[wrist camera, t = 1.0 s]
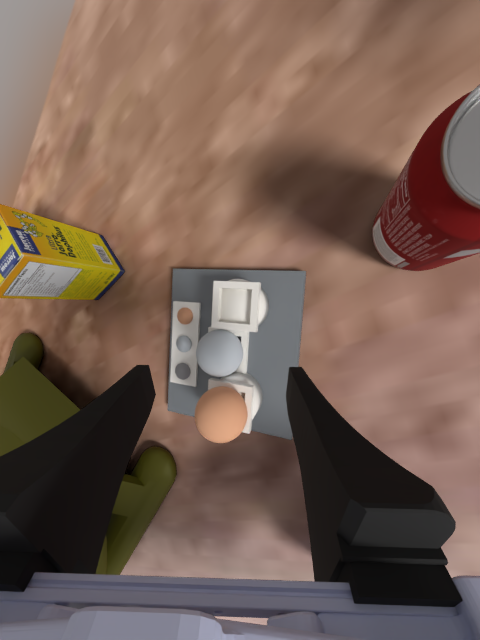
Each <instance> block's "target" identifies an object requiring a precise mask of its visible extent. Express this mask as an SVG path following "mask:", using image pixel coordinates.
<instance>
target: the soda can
mask: <svg viewBox="0 0 480 640" xmlns="http://www.w3.org/2000/svg"><path fill="white" fill-rule="evenodd" d="M372 239H373V243H374V246H375V248H376V250H377V252H378V254H379V255H380V256H381V257H382V258H383V259H384V260H385V261H386V262H387V263H389V264H390V265H392V266H394V267H397V268H399V269H403V270H408V271H424V270H429V269H433V268H436V267H439V266H442V265H445V264H448V263H451V262H454V261H457V260H460V259H463V258H466V257H469V256H472V255H475V254H478V253H480V85H479V86H477V87H476V88H475V89H474V90H473V91H471V92H469V93H468V94H466V95H464V96H463V97H461V98H460V99H458V100H457V101H455V102H454V103H453V104H451V105H450V106H449V107H448V108H447V109H445V110H444V111H443V112H442V113H441V114H440V115H439V116H438V117H437V118H436V119H435V120H434V121H433V122H432V124H431V125H430V126H429V127H428V129H427V130H426V131H425V133H424V134H423V136H422V137H421V139H420V141H419V142H418V144H417V146H416V148H415V149H414V151H413V153H412V155H411V156H410V158H409V160H408V161H407V163H406V165H405V167H404V168H403V170H402V172H401V173H400V175H399V177H398V179H397V180H396V182H395V184H394V186H393V187H392V189H391V191H390V192H389V194H388V196H387V198H386V199H385V201H384V203H383V204H382V206H381V208H380V210H379V211H378V213H377V215H376V217H375V220H374V223H373V228H372Z"/></svg>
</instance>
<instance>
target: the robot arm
mask: <svg viewBox="0 0 480 640" xmlns="http://www.w3.org/2000/svg"><path fill="white" fill-rule="evenodd" d="M155 395H156V394H155V389H154V385H153V381H152V377H151V372H150V368H149V365H137V366H135V367H134V368H133V369H132V370H130V371H129V372H128V373H127V374H126V375H124V376H123V377H122V378H121V379H120V380H118V381H117V382H116V383H115V384H114V385H112V386H111V387H110V388H109V389H108V390H106V391H105V392H104V393H103V394H101V395H100V396H99V397H97V398H96V399H95V400H93V401H92V402H91V403H89V404H88V405H87V406H86V407H84V408H83V409H81V410H80V411H78V412H77V413H76V414H74V415H73V416H71V417H70V418H68V419H67V420H65V421H63V422H62V423H60V424H59V425H57V426H55V427H54V428H52V429H50V430H49V431H47V432H45V433H43V434H42V435H40V436H38V437H37V438H35V439H33V440H31V441H29V442H28V443H26V444H24V445H22V446H20V447H18V448H16V449H14V450H12V451H10V452H8V453H6V454H4V455H2V456H0V640H480V576H457V577H453V578H451V577H450V575H449V573H448V571H447V569H446V567H445V565H447V564H448V561H447V558H446V556H445V555H444V553H443V551H442V549H441V546H442V545H443V544H444V543H445V542H446V541H447V540H448V538H449V537H450V536H451V535H452V534H453V532H454V530H455V520H454V519H453V517H452V515H451V514H450V512H449V511H448V509H447V507H446V506H445V504H444V502H443V501H442V499H441V498H440V497H439V495H438V494H437V492H436V491H435V489H434V488H433V487H432V486H431V485H429V484H428V483H426V482H425V481H423V480H422V479H420V478H418V477H417V476H415V475H414V474H412V473H411V472H409V471H408V470H406V469H405V468H403V467H402V466H400V465H399V464H398V463H396V462H395V461H393V460H392V459H391V458H389V457H388V456H387V455H385V454H384V453H383V452H381V451H380V450H379V449H378V448H376V447H375V446H374V445H373V444H371V443H370V442H369V441H368V440H367V439H365V438H364V437H363V436H362V435H361V434H359V433H358V432H357V431H356V430H355V429H354V428H353V427H352V426H351V425H350V424H349V423H348V422H347V421H346V420H345V419H344V418H343V417H342V416H341V415H340V414H339V413H338V412H337V411H336V410H335V409H334V408H333V407H332V406H331V404H330V403H329V402H328V401H327V400H326V398H325V397H324V396H323V395H322V394H321V392H320V391H319V390H318V389H317V387H316V386H315V385H314V383H313V382H312V381H311V379H310V378H309V377H308V375H307V374H306V372H305V371H304V369H303V368H302V367H289V372H288V381H287V389H286V403H287V411H288V417H289V422H290V426H291V430H292V434H293V438H294V442H295V446H296V451H297V455H298V459H299V464H300V469H301V476H302V482H303V489H304V496H305V504H306V511H307V519H308V527H309V535H310V543H311V552H312V561H313V570H314V579H315V582H312V581H282V580H252V579H222V578H192V577H163V576H133V575H103V574H96V570H97V566H98V562H99V558H100V554H101V551H102V547H103V543H104V539H105V535H106V532H107V528H108V525H109V521H110V518H111V515H112V511H113V508H114V505H115V501H116V498H117V495H118V492H119V489H120V485H121V483H122V480H123V477H124V474H125V471H126V468H127V465H128V462H129V460H130V457H131V455H132V453H133V450H134V448H135V446H136V444H137V442H138V439H139V437H140V435H141V433H142V430H143V428H144V426H145V424H146V421H147V419H148V417H149V414H150V412H151V409H152V405H153V402H154V398H155ZM214 616H227V617H254V618H269V619H268V621H267V625H260V624H252V623H245V622H238V621H231V620H224V619H217V618H215V617H214Z"/></svg>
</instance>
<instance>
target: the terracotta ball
mask: <svg viewBox="0 0 480 640" xmlns="http://www.w3.org/2000/svg"><path fill="white" fill-rule="evenodd" d="M247 417H248V411H247V406H246V403H245V401H244V399H243V397H242V396H241V395H240V394H239V393H238V392H237V391H235V390H234V389H232V388H229V387H224V386H219V387H215V388H212V389H210V390H208V391H207V392H205V393H204V394H203V395H202V396H201V398H200V399H199V401H198V403H197V405H196V408H195V423H196V426H197V428H198V430H199V432H200V433H201V434H202V435H203V436H204V437H205V438H206V439H208V440H209V441H212V442H215V443H226V442H229V441H231V440H233V439H235V438H236V437H238V436H239V435H240V433H241V432H242V431H243V429H244V427H245V425H246V422H247Z"/></svg>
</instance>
